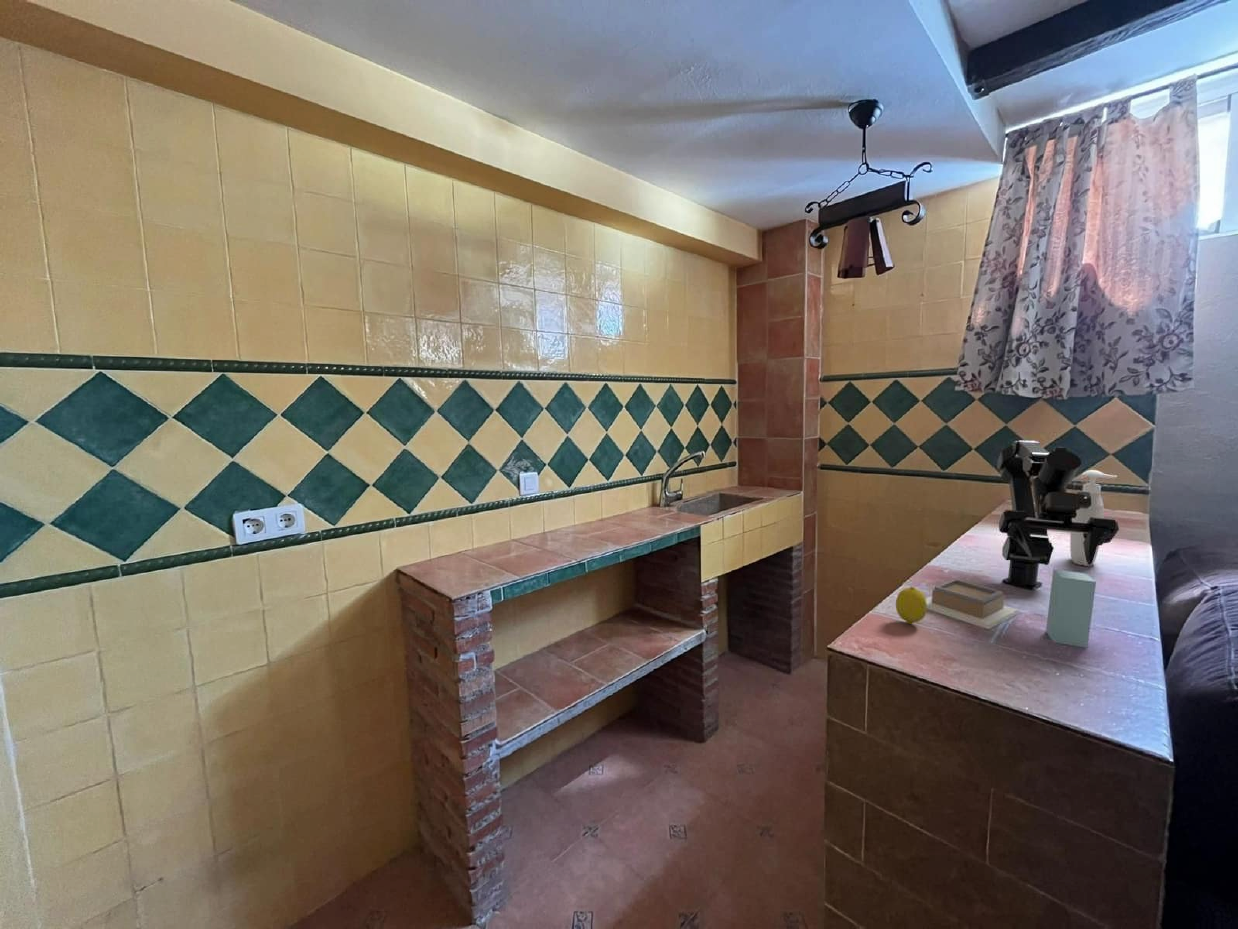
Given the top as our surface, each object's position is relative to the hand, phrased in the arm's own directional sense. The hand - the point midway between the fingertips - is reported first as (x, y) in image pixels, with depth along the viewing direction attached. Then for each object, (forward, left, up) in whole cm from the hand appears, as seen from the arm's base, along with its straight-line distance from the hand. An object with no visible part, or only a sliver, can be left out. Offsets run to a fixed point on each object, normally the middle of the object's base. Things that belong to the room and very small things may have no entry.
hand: (1060, 560), depth 103 cm
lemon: (+26, -16, -14) cm, 33 cm away
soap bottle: (-58, -10, -14) cm, 61 cm away
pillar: (+7, +4, -14) cm, 16 cm away
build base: (+8, -13, -14) cm, 20 cm away
